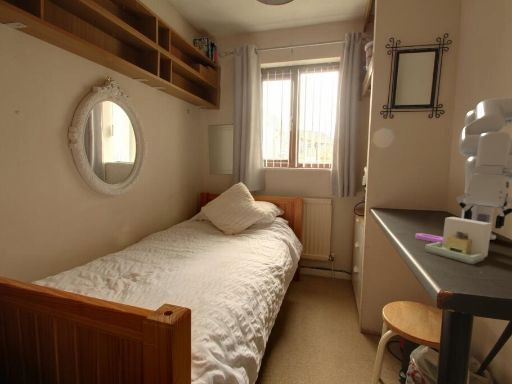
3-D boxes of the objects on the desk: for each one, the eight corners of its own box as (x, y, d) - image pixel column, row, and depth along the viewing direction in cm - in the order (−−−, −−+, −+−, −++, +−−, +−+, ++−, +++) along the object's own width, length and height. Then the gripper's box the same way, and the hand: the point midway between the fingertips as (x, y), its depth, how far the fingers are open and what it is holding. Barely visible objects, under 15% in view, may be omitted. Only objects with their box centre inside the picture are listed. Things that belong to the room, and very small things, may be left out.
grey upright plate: (478, 235, 90) (480, 213, 89) (487, 236, 88) (490, 214, 87) (460, 239, 83) (463, 215, 82) (470, 241, 81) (473, 217, 80)
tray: (437, 247, 86) (438, 241, 86) (484, 260, 76) (485, 253, 76) (424, 251, 82) (425, 244, 82) (471, 264, 72) (472, 257, 72)
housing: (449, 246, 88) (452, 216, 87) (487, 256, 80) (491, 223, 79) (441, 248, 85) (445, 217, 84) (480, 258, 77) (484, 224, 76)
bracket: (460, 244, 92) (462, 224, 92) (457, 247, 89) (459, 226, 88) (417, 236, 102) (419, 218, 101) (413, 238, 98) (415, 219, 97)
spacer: (450, 248, 83) (452, 235, 83) (470, 253, 79) (472, 239, 78) (445, 250, 81) (447, 236, 81) (465, 255, 77) (467, 241, 77)
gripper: (530, 173, 81) (522, 230, 82) (463, 170, 95) (457, 219, 97) (522, 172, 77) (513, 232, 79) (453, 170, 91) (447, 220, 93)
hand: (482, 224), depth 88 cm, fingers open, 7 cm apart
